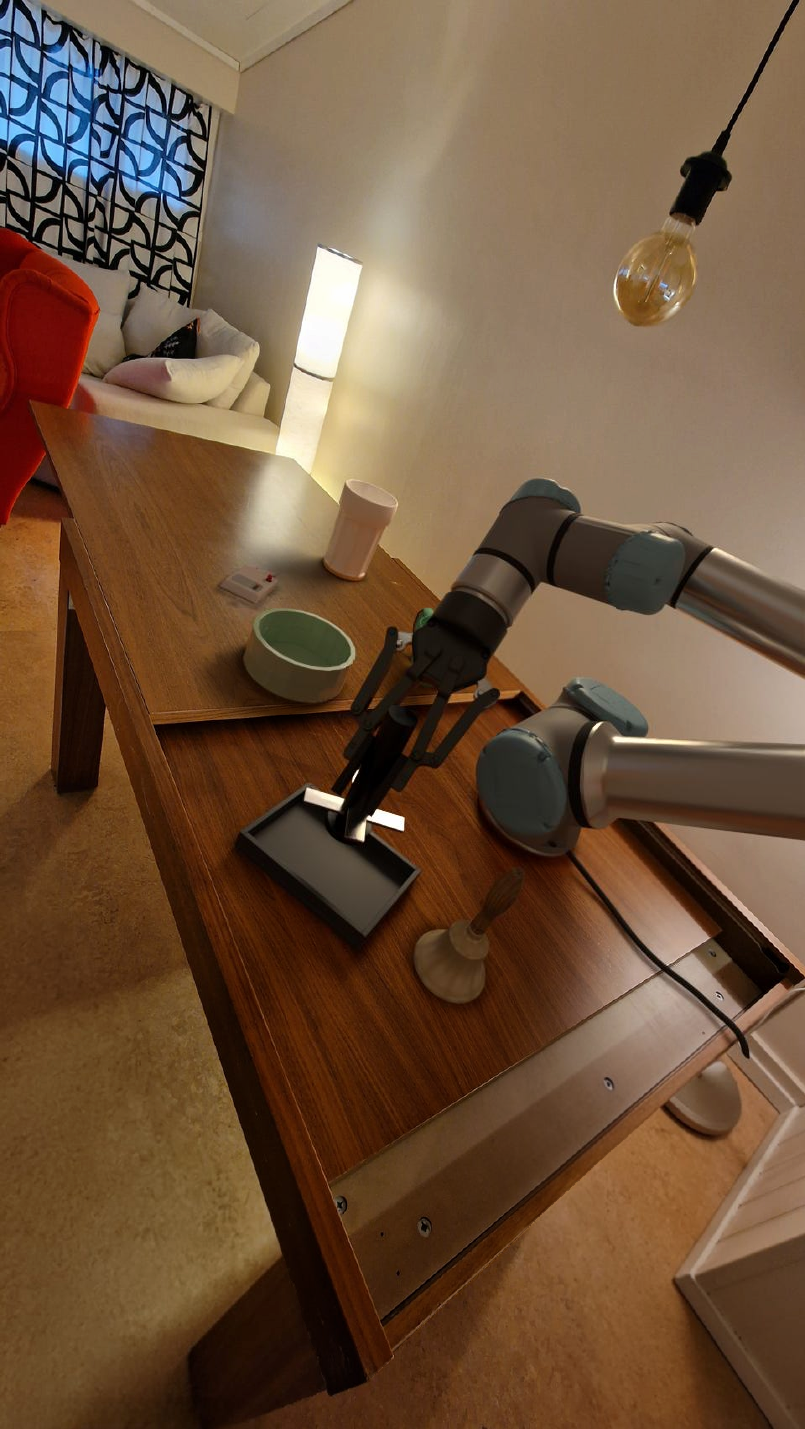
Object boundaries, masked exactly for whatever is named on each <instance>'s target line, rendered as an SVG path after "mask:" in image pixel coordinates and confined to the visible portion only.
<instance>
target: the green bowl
mask: <svg viewBox="0 0 805 1429" xmlns="http://www.w3.org/2000/svg"><path fill="white" fill-rule="evenodd" d="M355 660H356V647H355V646H354V643H353V641H352V639H351V638H350V637H349V636H348V634H346V633H345V632H344V631H343V630H342V629H341V628H340V627H338V626H337V625H335V624H334V623H333V622H331V621H329V620H327V619H325V618H324V617H321V616H319V615H317V614H314V613H313V612H312V613H311V612H309V611H305V610H302V609H296V608H290V607H274V608H269V609H266V610H263V611H261V612H259V614H257V616H255V617H254V619H253V623H252V625H251V629H250V633H249V636H248V639H247V642H246V647H245V650H244V654H243V657H242V661H243V665H244V667H245V670H246V671H247V673H248V675H249V676H250V677H251V678H252V679H253V681H255V682H256V683H257V684H259V686H261V687H262V688H264V689H265V690H267V691H269V692H271V693H272V694H275V695H276V696H279V697H281V698H284V699H287V700H290V701H295V702H299V703H309V704H311V703H312V704H316V703H317V704H318V703H323V702H327V701H330V700H333V699H334V698H336V697H337V696H338V695H339V694H340V693H341V691H342V690H343V688H344V686H345V683H346V681H347V679H348V676H349V673H351V672H350V671H351V670H352V667H353V664H354V662H355ZM295 699H296V700H295ZM325 699H329V700H325ZM300 700H301V701H300ZM321 700H324V701H321ZM310 701H318V702H310Z"/></svg>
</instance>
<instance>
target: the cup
mask: <svg viewBox="0 0 805 1429" xmlns="http://www.w3.org/2000/svg"><path fill="white" fill-rule="evenodd" d="M338 504H339V510H338V513H337V516H336V520H335V523H334V526H333V529H332V532H331V535H330V539H329V542H328V544H327V549H326V550H325V554H324V558H323V561H322V563H323V566H324V567H325V569H326V570H328V571H329V572H330V573H331V574H333V575H335V576H337V577H339V578H340V579H343V580H348V581H352V582H358V581H362V580H363V579H364V577H365V575H366V573H367V571H368V568H369V566H370V564H371V561H372V559H373V557H374V554H375V552H376V551H377V549H378V545H379V543H380V541H381V539H382V537H383V535H384V532H385V529H386V527H389V526H390V525H391V523H392V520H393V518H394V516H395V514H396V512H397V509H398V507H399V502H398V499H396V497H394V495H393V494H392V493H389V492H388V491H387V490H385V489H384V488H381V487H379V486H377V485H375V484H373V483H371V482H367V481H365V480H360V479H355V478H354V479H353V478H352V479H351V478H350V479H347V480H346V481H344V485H343V487H342V491H341V494H340V498H339V500H338Z"/></svg>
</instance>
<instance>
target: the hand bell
mask: <svg viewBox="0 0 805 1429" xmlns="http://www.w3.org/2000/svg"><path fill="white" fill-rule="evenodd" d="M525 878H526V874H525V871H524V870H523V869H521V868H520V867H513V868H512V869H511V870H509V871H508V872H506V873H504V874H502V875H501V876H500V877H498V878H497V879H496V880H495V881H494V882H493V883H492V885H491V887H490V889H488V891H487V894H486V896H485V899H484V902H483V906H482V908H481V909H480V911H479V912H478V914H476V915H475V916H474V918H473V919H471V920H468V919H460V920H456V921H455V922H453V923H452V924H451V925H450V926H449V927H448V928H447V929H441V928H440V929H434V930H430V931H428V932H425V933H424V934H422V935H421V936H420V937H419V939H417V941H416V943H415V946H414V948H413V965H414V968H415V972H416V974H417V976H418V978H419V980H420V981H421V983H422V984H423V985H424V987H425V988H426V989H427V990H428V991H429V992H430V993H431V994H433V995H434V996H435V997H437V998H438V999H441V1000H443V1001H445V1002H448V1003H451V1004H458V1005H461V1004H467V1003H470V1002H472V1001H474V1000H476V999H477V998H478V997H479V996H480V995H481V993H482V992H483V990H484V987H485V985H486V984H485V983H486V968H485V964H484V960H485V959H486V956H487V955H488V953H489V950H490V940H489V937H488V935H487V934H486V932H487V931H488V929H489V928H490V926H491V924H492V923H493V922H494V921H495V919H496V918H498V917H499V916H501V915H502V914H504V913H506V912H507V911H508V910H509V909H510V908H512V906H513V905H514V904H515V903H516V901H517V900H518V898H519V897H520V894H521V891H522V887H523V883H524V880H525Z"/></svg>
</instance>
